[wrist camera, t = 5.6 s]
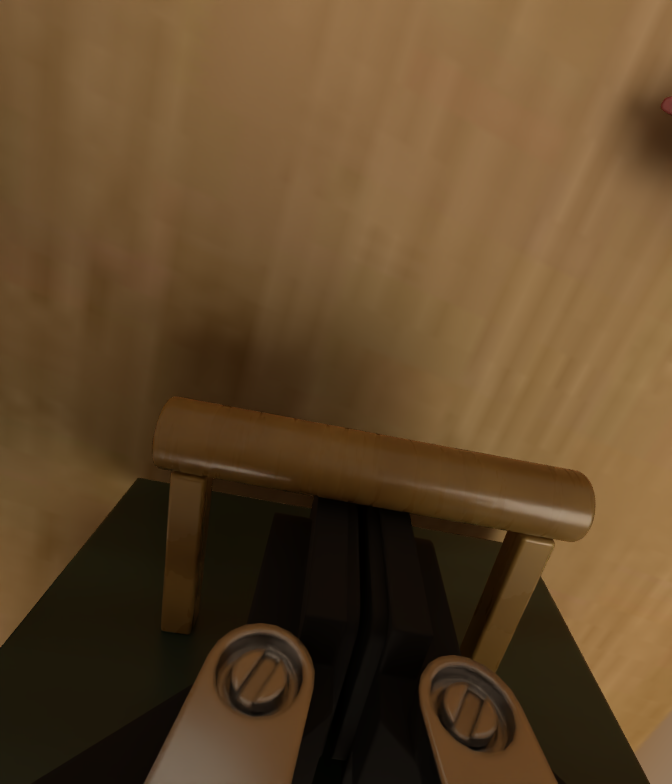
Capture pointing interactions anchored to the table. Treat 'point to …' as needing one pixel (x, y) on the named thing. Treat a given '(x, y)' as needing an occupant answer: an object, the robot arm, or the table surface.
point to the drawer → (242, 567)
